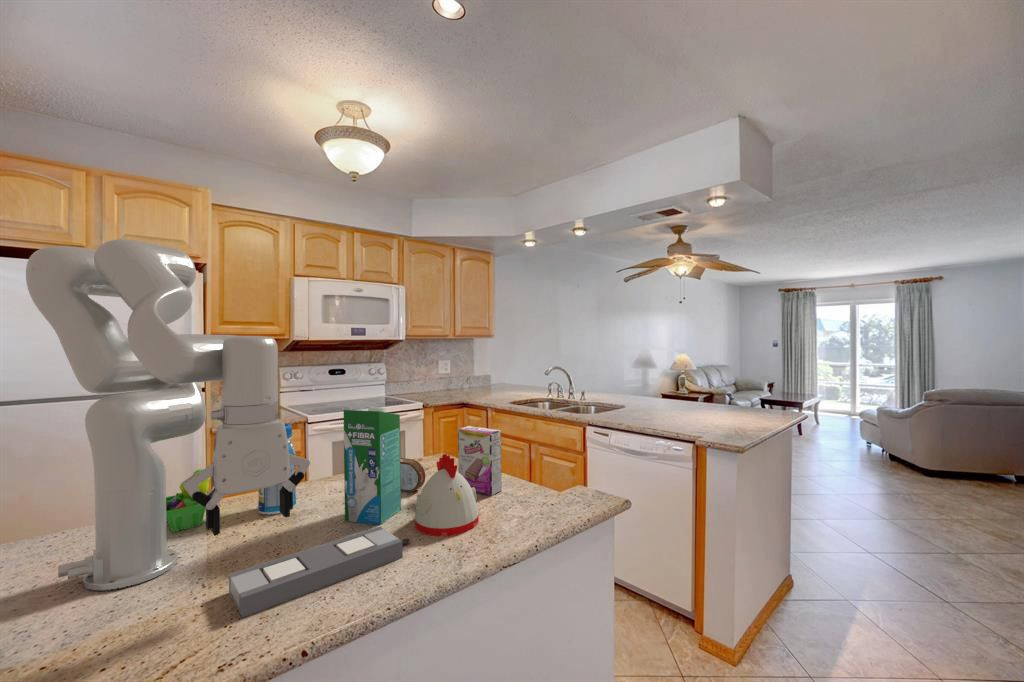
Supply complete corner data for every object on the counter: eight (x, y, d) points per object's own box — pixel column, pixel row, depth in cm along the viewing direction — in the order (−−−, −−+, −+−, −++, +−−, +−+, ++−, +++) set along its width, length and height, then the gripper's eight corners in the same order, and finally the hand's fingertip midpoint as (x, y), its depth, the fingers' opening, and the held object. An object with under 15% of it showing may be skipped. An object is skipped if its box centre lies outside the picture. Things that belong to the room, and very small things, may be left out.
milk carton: (401, 509, 105) (400, 404, 105) (380, 525, 97) (378, 410, 97) (368, 506, 108) (366, 403, 108) (344, 521, 99) (343, 409, 99)
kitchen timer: (432, 542, 88) (431, 467, 88) (404, 520, 100) (404, 453, 99) (490, 524, 97) (489, 456, 97) (459, 505, 108) (458, 444, 108)
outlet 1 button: (271, 592, 69) (271, 580, 69) (263, 580, 73) (263, 568, 73) (305, 580, 73) (305, 568, 73) (295, 569, 76) (295, 557, 76)
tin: (426, 490, 119) (425, 459, 118) (419, 494, 116) (419, 462, 116) (380, 484, 124) (380, 454, 124) (373, 488, 121) (372, 457, 121)
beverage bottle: (278, 517, 102) (277, 430, 102) (248, 514, 104) (247, 428, 104) (304, 504, 110) (303, 423, 110) (276, 501, 112) (275, 421, 112)
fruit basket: (158, 520, 101) (157, 471, 101) (205, 509, 107) (204, 463, 107) (165, 536, 93) (165, 482, 93) (216, 523, 99) (215, 472, 99)
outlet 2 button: (347, 565, 77) (347, 554, 77) (336, 555, 81) (336, 544, 81) (374, 555, 81) (374, 544, 81) (362, 546, 84) (362, 536, 84)
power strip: (241, 618, 65) (241, 597, 65) (228, 592, 71) (228, 574, 71) (421, 550, 85) (421, 534, 85) (398, 535, 92) (398, 520, 92)
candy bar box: (457, 489, 119) (456, 428, 119) (468, 484, 123) (468, 425, 123) (491, 497, 113) (491, 432, 113) (502, 491, 118) (501, 429, 117)
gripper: (186, 425, 61) (187, 549, 61) (316, 411, 73) (316, 515, 73) (179, 418, 67) (180, 531, 67) (301, 406, 78) (301, 502, 78)
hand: (251, 523), depth 70 cm, fingers open, 9 cm apart
